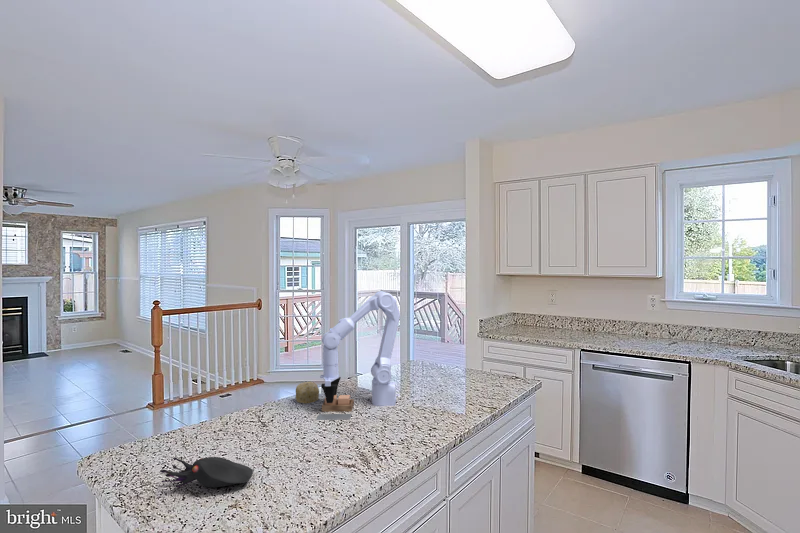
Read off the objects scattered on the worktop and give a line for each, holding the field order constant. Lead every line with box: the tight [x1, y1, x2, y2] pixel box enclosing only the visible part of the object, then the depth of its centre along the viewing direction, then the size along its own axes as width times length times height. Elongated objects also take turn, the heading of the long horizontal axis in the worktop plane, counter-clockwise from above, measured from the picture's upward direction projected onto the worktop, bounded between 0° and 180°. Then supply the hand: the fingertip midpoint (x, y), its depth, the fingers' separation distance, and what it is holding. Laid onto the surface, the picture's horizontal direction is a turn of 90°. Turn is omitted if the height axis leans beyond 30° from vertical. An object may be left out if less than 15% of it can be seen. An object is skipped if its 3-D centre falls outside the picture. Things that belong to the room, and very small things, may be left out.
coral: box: [295, 380, 320, 404], centre depth 170 cm, size 9×9×8 cm
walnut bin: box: [321, 398, 355, 413], centre depth 160 cm, size 11×7×3 cm, turn 89°
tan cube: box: [324, 394, 338, 405], centre depth 160 cm, size 4×4×4 cm
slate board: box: [315, 413, 353, 421], centre depth 151 cm, size 12×6×1 cm, turn 89°
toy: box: [159, 456, 254, 488], centre depth 108 cm, size 10×21×10 cm, turn 96°
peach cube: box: [337, 394, 351, 405], centre depth 160 cm, size 4×4×4 cm
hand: (331, 399), depth 160 cm, fingers open, 6 cm apart
